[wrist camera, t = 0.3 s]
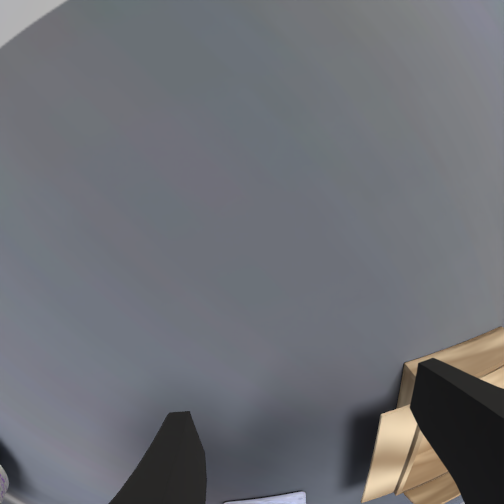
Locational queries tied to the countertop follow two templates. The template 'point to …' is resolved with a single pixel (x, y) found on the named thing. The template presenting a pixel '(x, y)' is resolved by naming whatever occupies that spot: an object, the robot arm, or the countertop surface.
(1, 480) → the paper bowls
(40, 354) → the countertop surface
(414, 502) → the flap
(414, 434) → the carton
